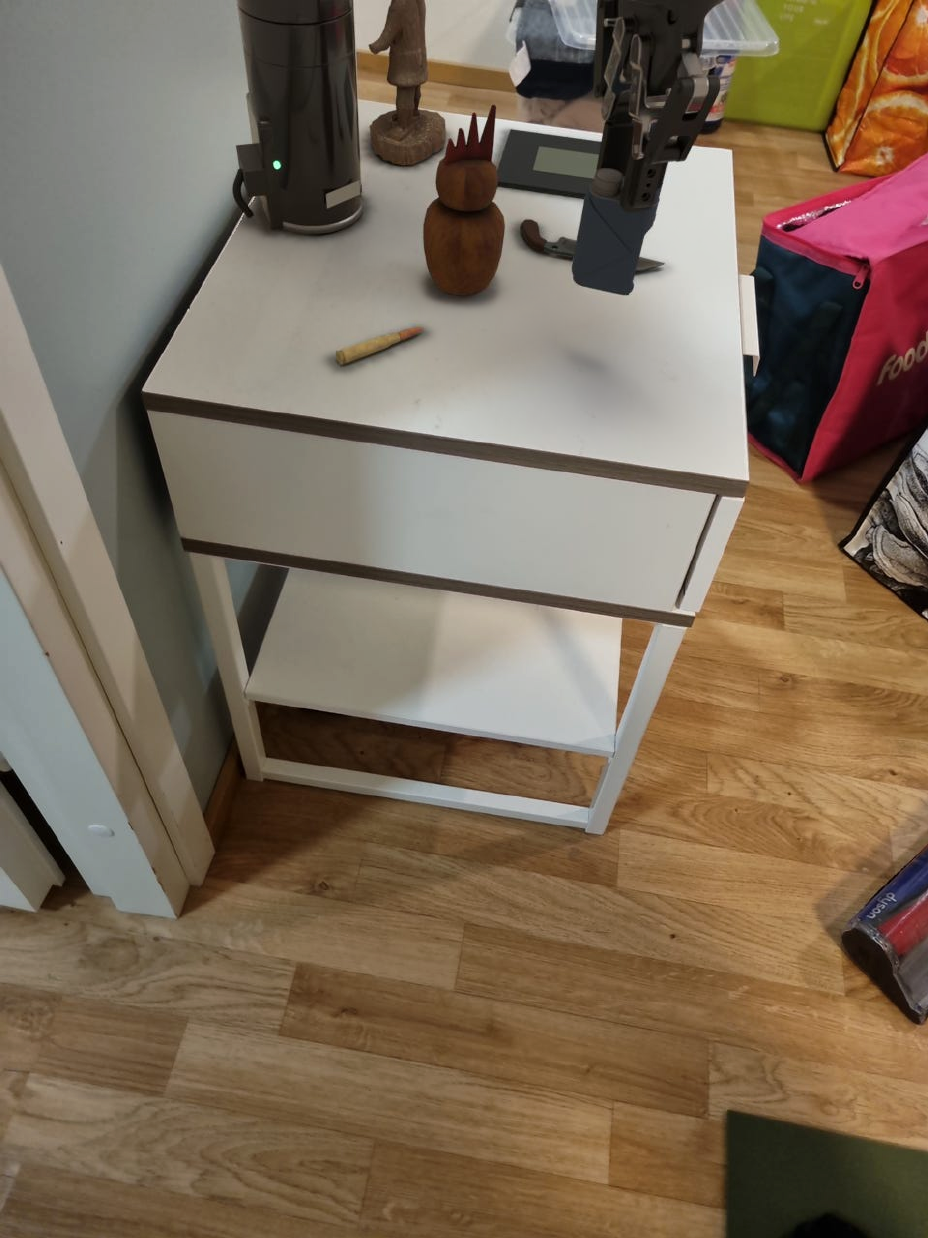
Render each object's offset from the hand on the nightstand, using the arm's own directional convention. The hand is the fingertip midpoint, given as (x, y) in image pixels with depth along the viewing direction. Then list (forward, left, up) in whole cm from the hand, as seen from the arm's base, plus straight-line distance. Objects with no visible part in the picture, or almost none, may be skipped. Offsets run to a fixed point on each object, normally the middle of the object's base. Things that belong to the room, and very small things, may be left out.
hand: (623, 191), depth 64 cm
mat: (+10, +29, -14) cm, 34 cm away
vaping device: (0, 0, -8) cm, 8 cm away
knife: (+6, +14, -14) cm, 21 cm away
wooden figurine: (-7, +12, -14) cm, 20 cm away
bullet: (-17, +6, -14) cm, 22 cm away
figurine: (-5, +37, -14) cm, 40 cm away
